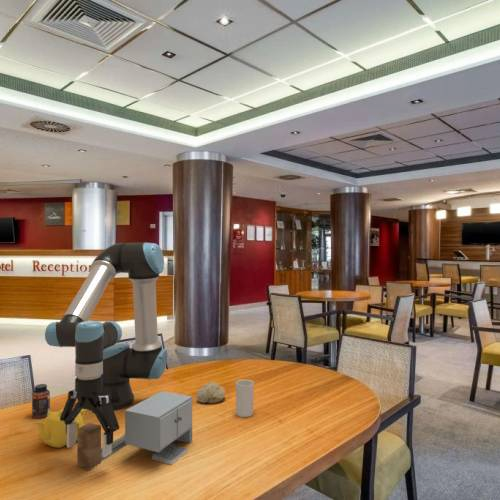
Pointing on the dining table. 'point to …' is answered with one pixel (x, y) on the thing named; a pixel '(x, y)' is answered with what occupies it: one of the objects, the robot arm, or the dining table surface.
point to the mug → (244, 398)
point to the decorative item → (211, 393)
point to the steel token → (169, 454)
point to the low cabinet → (159, 421)
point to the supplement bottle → (40, 401)
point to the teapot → (57, 428)
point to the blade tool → (93, 446)
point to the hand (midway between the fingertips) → (88, 450)
